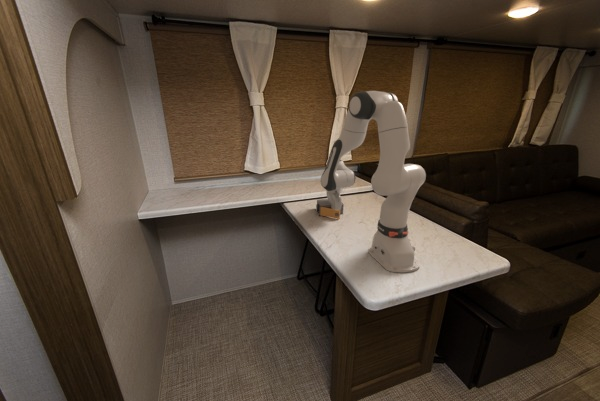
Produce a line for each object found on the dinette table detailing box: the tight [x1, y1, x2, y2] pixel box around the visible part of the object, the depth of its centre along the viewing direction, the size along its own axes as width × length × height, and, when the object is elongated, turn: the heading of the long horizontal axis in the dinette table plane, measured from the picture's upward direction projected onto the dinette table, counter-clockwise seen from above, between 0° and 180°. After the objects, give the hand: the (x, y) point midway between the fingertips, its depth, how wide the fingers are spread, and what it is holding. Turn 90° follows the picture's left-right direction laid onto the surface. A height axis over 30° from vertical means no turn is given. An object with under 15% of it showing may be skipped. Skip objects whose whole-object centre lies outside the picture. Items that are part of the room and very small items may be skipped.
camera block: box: [315, 198, 345, 215], centre depth 155 cm, size 10×15×7 cm, turn 97°
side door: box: [318, 207, 341, 220], centre depth 147 cm, size 2×12×5 cm, turn 62°
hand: (333, 210), depth 149 cm, fingers closed
